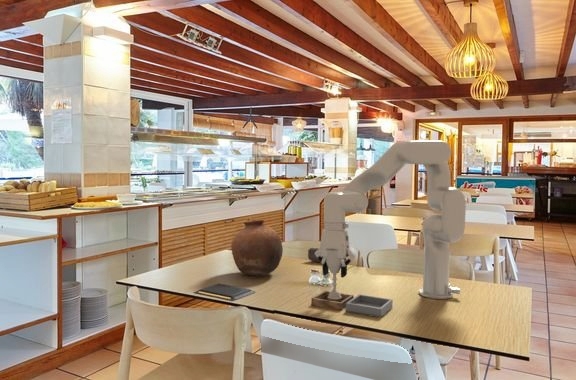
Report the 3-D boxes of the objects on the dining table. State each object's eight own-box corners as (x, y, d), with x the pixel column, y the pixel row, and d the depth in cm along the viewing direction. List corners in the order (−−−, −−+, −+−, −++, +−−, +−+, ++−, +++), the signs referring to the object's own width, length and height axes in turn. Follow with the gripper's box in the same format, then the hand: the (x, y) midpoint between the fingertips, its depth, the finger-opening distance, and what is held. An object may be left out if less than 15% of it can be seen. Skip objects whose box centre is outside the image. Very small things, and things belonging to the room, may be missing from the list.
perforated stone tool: (338, 263, 241) (338, 249, 241) (334, 265, 237) (334, 251, 236) (311, 260, 249) (311, 246, 248) (307, 261, 244) (307, 248, 244)
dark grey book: (256, 289, 188) (231, 298, 176) (256, 293, 188) (231, 303, 176) (218, 281, 199) (192, 289, 187) (218, 285, 199) (192, 294, 187)
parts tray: (392, 307, 171) (392, 299, 170) (381, 318, 160) (381, 309, 159) (358, 302, 177) (359, 294, 177) (345, 311, 166) (346, 303, 166)
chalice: (321, 298, 174) (321, 249, 172) (329, 293, 180) (328, 245, 178) (340, 301, 170) (340, 251, 169) (347, 296, 176) (347, 247, 175)
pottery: (281, 281, 205) (282, 223, 204) (227, 280, 206) (227, 222, 204) (283, 268, 228) (283, 216, 226) (234, 268, 229) (234, 215, 227)
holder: (353, 301, 177) (353, 295, 177) (341, 310, 167) (341, 303, 167) (324, 297, 183) (325, 290, 183) (311, 305, 173) (311, 298, 173)
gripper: (360, 226, 172) (360, 276, 173) (317, 223, 181) (317, 270, 182) (353, 229, 166) (353, 280, 167) (308, 226, 174) (308, 275, 175)
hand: (334, 275), depth 174 cm, fingers closed on chalice, 6 cm apart
